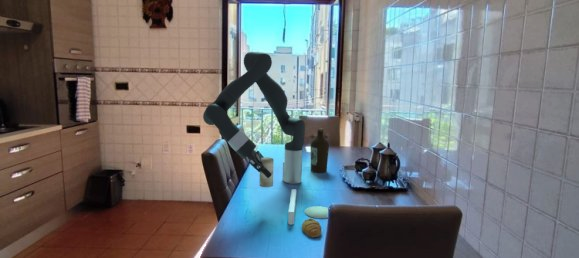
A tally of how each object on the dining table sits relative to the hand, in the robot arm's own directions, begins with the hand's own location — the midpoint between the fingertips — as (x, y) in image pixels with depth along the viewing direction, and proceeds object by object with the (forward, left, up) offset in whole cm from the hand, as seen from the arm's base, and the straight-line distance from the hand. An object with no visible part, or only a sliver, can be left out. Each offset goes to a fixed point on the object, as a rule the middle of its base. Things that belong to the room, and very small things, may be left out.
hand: (270, 174), depth 146 cm
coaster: (+14, +14, -15) cm, 25 cm away
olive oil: (-29, +60, -16) cm, 69 cm away
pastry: (+25, -1, -16) cm, 30 cm away
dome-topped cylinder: (-1, -1, -5) cm, 5 cm away
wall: (+7, +6, -15) cm, 18 cm away
